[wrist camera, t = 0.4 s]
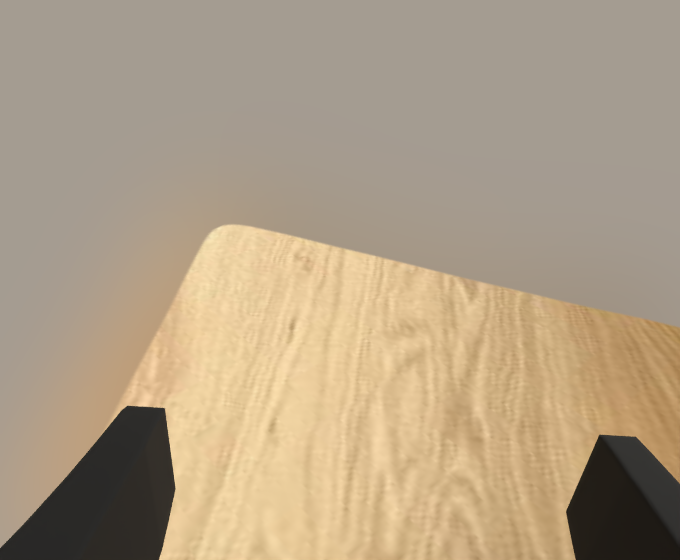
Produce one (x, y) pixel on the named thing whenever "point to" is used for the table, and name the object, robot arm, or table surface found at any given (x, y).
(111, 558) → the robot arm
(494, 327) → the table surface
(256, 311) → the table surface
